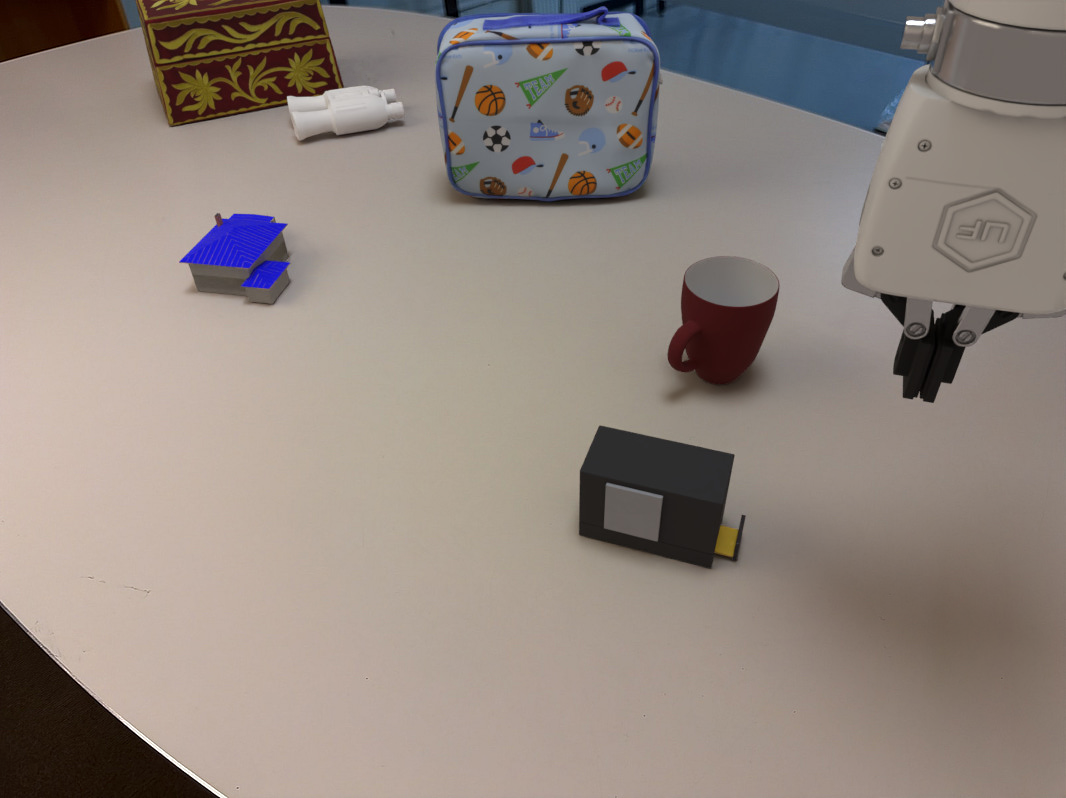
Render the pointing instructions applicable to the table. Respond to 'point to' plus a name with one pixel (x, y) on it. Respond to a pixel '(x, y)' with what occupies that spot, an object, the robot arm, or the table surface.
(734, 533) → the tape blade
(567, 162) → the lunch box
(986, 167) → the robot arm
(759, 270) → the mug
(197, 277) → the house
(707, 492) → the tape case
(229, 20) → the decorative box
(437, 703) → the table surface
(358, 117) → the binoculars
